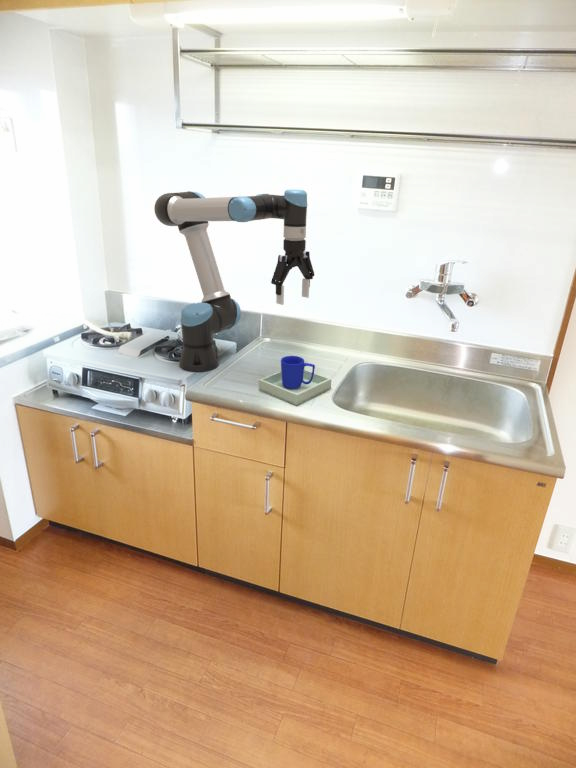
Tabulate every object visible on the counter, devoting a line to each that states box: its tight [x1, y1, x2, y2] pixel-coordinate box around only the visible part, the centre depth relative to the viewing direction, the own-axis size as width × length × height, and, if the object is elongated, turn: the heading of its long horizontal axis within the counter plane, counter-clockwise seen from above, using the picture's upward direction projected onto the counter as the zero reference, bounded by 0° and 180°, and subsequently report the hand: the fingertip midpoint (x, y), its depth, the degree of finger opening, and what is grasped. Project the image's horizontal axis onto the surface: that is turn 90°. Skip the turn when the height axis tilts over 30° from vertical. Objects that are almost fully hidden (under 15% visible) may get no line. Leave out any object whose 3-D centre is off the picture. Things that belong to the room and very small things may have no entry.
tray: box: [258, 368, 332, 407], centre depth 178 cm, size 18×19×4 cm
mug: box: [280, 355, 316, 389], centre depth 177 cm, size 8×12×10 cm
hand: (292, 300), depth 179 cm, fingers open, 13 cm apart
